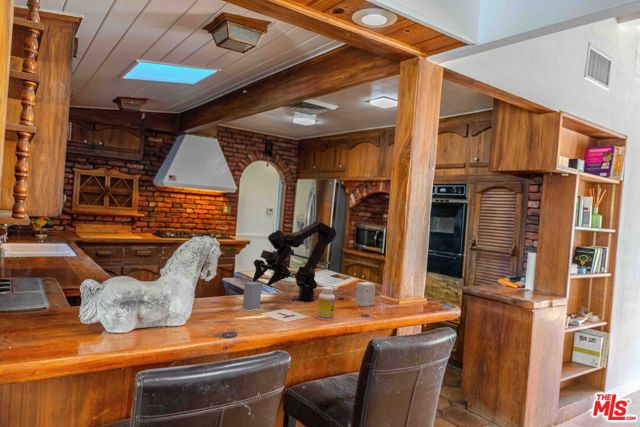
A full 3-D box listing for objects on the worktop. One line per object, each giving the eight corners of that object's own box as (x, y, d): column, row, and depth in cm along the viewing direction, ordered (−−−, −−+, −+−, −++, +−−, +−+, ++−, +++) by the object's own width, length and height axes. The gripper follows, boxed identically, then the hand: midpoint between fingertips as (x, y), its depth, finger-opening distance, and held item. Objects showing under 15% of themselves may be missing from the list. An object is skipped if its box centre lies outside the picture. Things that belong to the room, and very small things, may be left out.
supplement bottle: (331, 322, 169) (334, 290, 169) (315, 320, 171) (317, 288, 170) (334, 318, 176) (337, 287, 176) (318, 316, 177) (321, 285, 177)
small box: (365, 302, 211) (366, 281, 211) (374, 305, 207) (375, 283, 207) (354, 304, 205) (356, 282, 205) (363, 307, 201) (365, 284, 201)
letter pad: (259, 315, 171) (260, 313, 171) (283, 310, 182) (284, 308, 182) (285, 323, 162) (285, 321, 162) (309, 317, 173) (309, 316, 173)
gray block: (251, 307, 183) (253, 281, 183) (259, 309, 180) (261, 283, 180) (242, 308, 179) (244, 282, 179) (250, 311, 176) (252, 284, 176)
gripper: (257, 241, 192) (236, 267, 184) (287, 246, 180) (266, 274, 172) (269, 257, 198) (249, 283, 190) (298, 264, 186) (278, 292, 178)
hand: (260, 283), depth 182 cm, fingers open, 9 cm apart
